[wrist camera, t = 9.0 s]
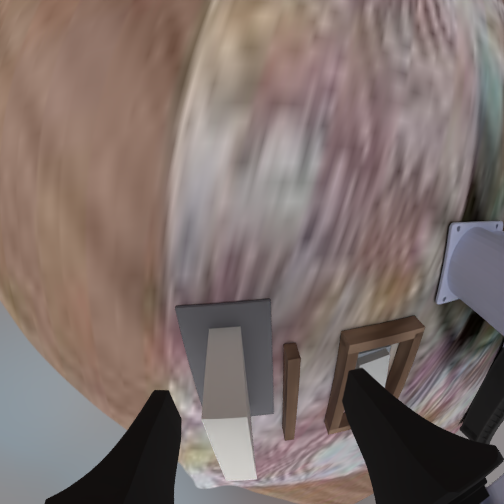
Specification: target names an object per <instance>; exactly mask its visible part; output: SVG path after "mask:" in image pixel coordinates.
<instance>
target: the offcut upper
mask: <svg viewBox="0 0 504 504" xmlns="http://www.w3.org/2000/svg"><path fill="white" fill-rule="evenodd" d="M389 358H390V353H389V352H388V351H387V349H386V348H385V349H382V350H379V351H376V352H374V353H371V354H368V355H365V356H362V357H359V358H358V359H357V363H356V369H358V368H363V369H365V370H366V371H367V372H368V373H369V374H370V375H371V376H372V377H373V378H374V379H375V380H376V381H378V382H379V383H380V384H381V385H382V386H383V387H384V388H385V384H386V378H387V372H388V366H389Z"/></svg>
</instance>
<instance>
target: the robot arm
mask: <svg viewBox="0 0 504 504" xmlns="http://www.w3.org/2000/svg"><path fill="white" fill-rule="evenodd" d="M457 227H458V228H457ZM502 230H503V222H502V221H474V222H453V223H451V224H450V227H449V233H448V240H447V247H446V253H445V259H444V264H443V269H442V274H441V279H440V283H439V287H438V292H437V296H436V300H435V301H436V303H437V304H443V303H447V302H450V301H454V300H457V299H461V300H462V301H463V302H464V303H465V304H467V305H468V306H469V307H470V308H472V309H473V310H474V311H475V312H476V313H478V314H479V315H480V316H481V317H482V318H484V319H485V320H486V321H487V322H488V323H489V324H490V325H492V326H493V327H494V328H495V329H496V330H497V331H498V332H499V333H501V334H502V335H503V336H504V232H503V231H502ZM503 347H504V344H503ZM342 403H343V406H344V410H345V414H346V417H347V420H348V423H349V425H350V428H351V430H352V432H353V435H354V437H355V439H356V441H357V444H358V446H359V448H360V451H361V453H362V455H363V458H364V460H365V463H366V465H367V468H368V472H369V476H370V479H371V483H372V487H373V491H374V496H375V500H376V504H504V474H503V475H501V476H500V477H499V478H498V479H497V480H496V481H494V482H493V483H492V484H491V485H489V486H488V487H485V484H486V483H487V480H486V478H485V477H486V476H487V475H488V474H490V473H491V472H492V471H493V470H494V469H495V468H497V467H498V466H499V465H500V464H501V463H502V462H503V460H504V458H503V457H502V455H501V453H500V452H499V450H498V449H497V447H496V446H494V445H489V444H485V443H480V442H476V441H472V440H469V439H466V438H463V437H460V436H458V435H456V434H453V433H451V432H449V431H446V430H444V429H442V428H440V427H438V426H436V425H434V424H433V423H431V422H429V421H428V420H426V419H424V418H423V417H421V416H420V415H418V414H417V413H415V412H414V411H413V410H411V409H410V408H408V407H407V406H406V405H404V404H403V403H402V402H401V401H399V400H398V399H397V398H396V397H395V396H393V395H392V394H391V393H390V392H389V391H388V390H386V389H385V388H384V387H383V386H382V385H381V384H380V383H379V382H378V381H376V380H375V379H374V378H373V377H372V376H371V375H370V374H369V373H368V372H367V371H366V370H365V369H363V368H358V369H354V370H350V371H349V372H348V376H347V381H346V386H345V390H344V395H343V399H342ZM180 443H181V417H180V415H179V412H178V410H177V408H176V406H175V404H174V401H173V399H172V397H171V395H170V392H169V390H154V391H153V393H152V394H151V396H150V397H149V399H148V401H147V402H146V404H145V405H144V407H143V408H142V410H141V411H140V413H139V414H138V416H137V417H136V419H135V420H134V422H133V423H132V425H131V426H130V427H129V429H128V430H127V432H126V433H125V434H124V435H123V437H122V438H121V439H120V441H119V442H118V443H117V444H116V446H115V447H114V448H113V449H112V450H111V451H110V452H109V454H108V455H107V456H106V457H105V458H104V459H103V460H102V461H101V462H100V463H99V464H98V465H97V466H95V468H93V469H92V470H91V471H90V472H89V473H87V474H86V475H85V476H84V477H82V478H81V479H80V480H78V481H77V482H75V483H74V484H73V485H71V486H70V487H68V488H67V489H65V490H63V491H61V492H59V493H58V494H56V495H54V496H52V497H50V498H48V499H46V501H45V504H174V484H175V476H176V469H177V462H178V456H179V449H180Z"/></svg>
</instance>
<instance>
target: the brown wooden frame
mask: <svg viewBox="0 0 504 504" xmlns="http://www.w3.org/2000/svg"><path fill="white" fill-rule="evenodd" d="M424 329H425V326H424V325H423V324H422V323H421V322H420V321H419V320H418V319H417V318H416V317H415V316H411V317H407V318H403V319H398V320H394V321H390V322H385V323H380V324H376V325H371V326H366V327H361V328H355V329H350V330H344V331H341V338H340V345H339V351H338V357H337V363H336V369H335V374H334V379H333V385H332V390H331V394H330V399H329V404H328V408H327V413H326V417H325V421H324V422H325V425H326V428H327V431H328V435H329V434H334V433H338V432H342V431H346V430H350V429H351V428H350V425H349V423H348V420H347V417H346V414H345V413H343V412H344V406H343V403H342V399H343V395H344V390H345V386H346V381H347V376H348V372H349V371H350V370H354V369H355V367H356V363H357V359H358V354H359V352H362V351H367V350H371V349H375V348H379V347H383V346H387V345H391V344H395V343H399V342H400V343H399V346H398V349H397V352H396V356H395V359H394V362H393V365H392V368H391V371H390V374H389V376H388V379H387V382H386V385H385V389H386V390H388V391H389V392H390V393H391V394H392V395H393V396H395V397H396V398H397V399H398V397H399V395H400V393H401V391H402V388H403V386H404V384H405V381H406V379H407V377H408V374H409V372H410V369H411V367H412V364H413V361H414V359H415V356H416V353H417V350H418V347H419V344H420V342H421V339H422V335H423V332H424ZM300 362H301V358H300V355H299V351H298V348H297V345H296V343H289V344H284V370H283V420H282V428H283V433H284V439H285V441H286V440H292V439H294V434H295V425H296V414H297V403H298V391H299V377H300Z"/></svg>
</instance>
